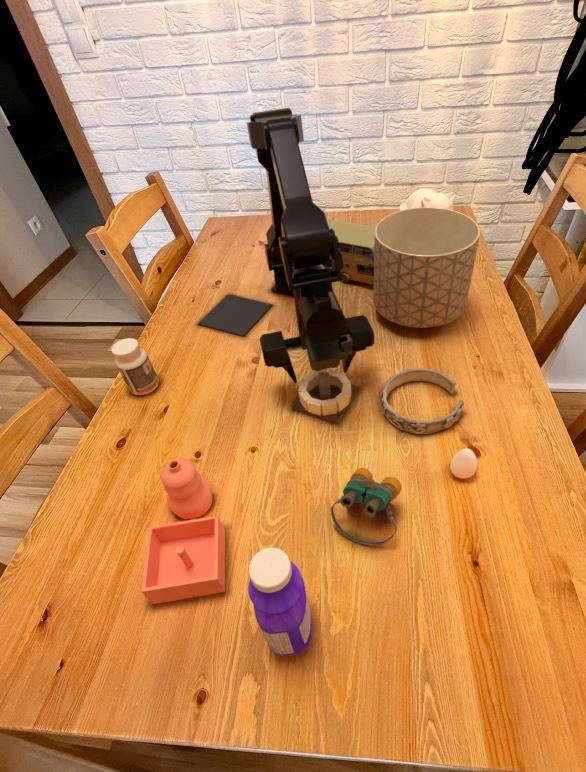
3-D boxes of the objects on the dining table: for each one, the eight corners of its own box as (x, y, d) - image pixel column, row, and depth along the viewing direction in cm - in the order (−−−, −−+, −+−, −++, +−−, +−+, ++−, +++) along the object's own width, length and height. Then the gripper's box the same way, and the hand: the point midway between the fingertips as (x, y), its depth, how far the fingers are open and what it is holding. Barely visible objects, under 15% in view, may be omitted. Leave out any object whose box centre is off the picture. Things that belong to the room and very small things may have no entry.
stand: (314, 377, 87) (312, 352, 82) (358, 389, 84) (358, 365, 79) (292, 409, 82) (287, 385, 77) (338, 424, 78) (336, 399, 74)
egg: (472, 485, 68) (479, 463, 64) (447, 478, 70) (452, 456, 66) (476, 465, 71) (482, 443, 67) (451, 459, 72) (456, 437, 68)
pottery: (225, 591, 60) (206, 559, 53) (152, 604, 60) (123, 572, 53) (224, 479, 72) (209, 440, 65) (164, 489, 72) (142, 450, 65)
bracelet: (404, 369, 86) (405, 356, 84) (474, 396, 81) (477, 383, 78) (366, 415, 79) (366, 403, 77) (439, 448, 73) (442, 436, 71)
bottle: (267, 600, 59) (240, 536, 46) (311, 595, 59) (296, 530, 46) (267, 662, 54) (238, 609, 41) (315, 657, 54) (300, 602, 41)
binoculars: (397, 539, 66) (413, 476, 63) (381, 572, 58) (397, 502, 55) (337, 517, 69) (349, 456, 66) (313, 546, 61) (326, 478, 58)
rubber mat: (228, 295, 108) (228, 294, 108) (272, 305, 104) (272, 304, 103) (198, 324, 101) (197, 323, 101) (243, 337, 97) (243, 335, 96)
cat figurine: (388, 230, 123) (391, 163, 111) (427, 225, 124) (434, 158, 111) (414, 280, 106) (421, 207, 94) (458, 273, 107) (471, 201, 94)
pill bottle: (163, 376, 90) (145, 335, 83) (153, 397, 86) (134, 356, 79) (136, 375, 91) (116, 335, 84) (125, 396, 87) (103, 356, 80)
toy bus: (377, 291, 104) (376, 249, 97) (293, 272, 114) (287, 233, 107) (397, 270, 109) (397, 228, 102) (315, 253, 119) (310, 215, 112)
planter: (361, 330, 95) (360, 248, 82) (387, 281, 107) (390, 202, 93) (454, 347, 90) (469, 262, 76) (471, 294, 101) (487, 212, 88)
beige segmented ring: (313, 374, 86) (312, 364, 84) (359, 387, 83) (359, 377, 81) (290, 406, 81) (289, 396, 79) (338, 421, 78) (337, 411, 76)
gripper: (261, 346, 66) (276, 419, 77) (386, 322, 68) (383, 396, 79) (252, 304, 73) (267, 376, 85) (364, 282, 75) (364, 356, 87)
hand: (320, 376), depth 84 cm, fingers open, 9 cm apart
